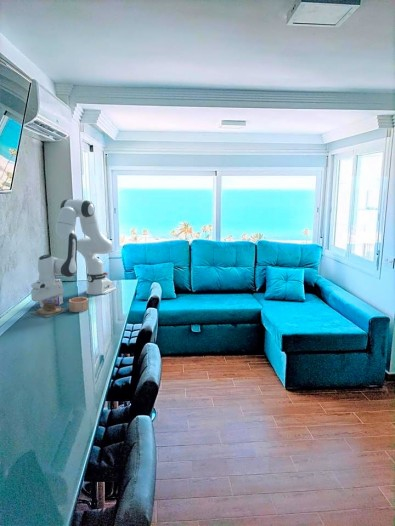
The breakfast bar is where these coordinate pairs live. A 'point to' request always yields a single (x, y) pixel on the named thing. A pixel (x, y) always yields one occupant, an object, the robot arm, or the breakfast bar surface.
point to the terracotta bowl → (78, 304)
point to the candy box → (50, 300)
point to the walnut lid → (49, 309)
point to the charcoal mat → (48, 315)
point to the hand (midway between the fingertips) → (49, 304)
